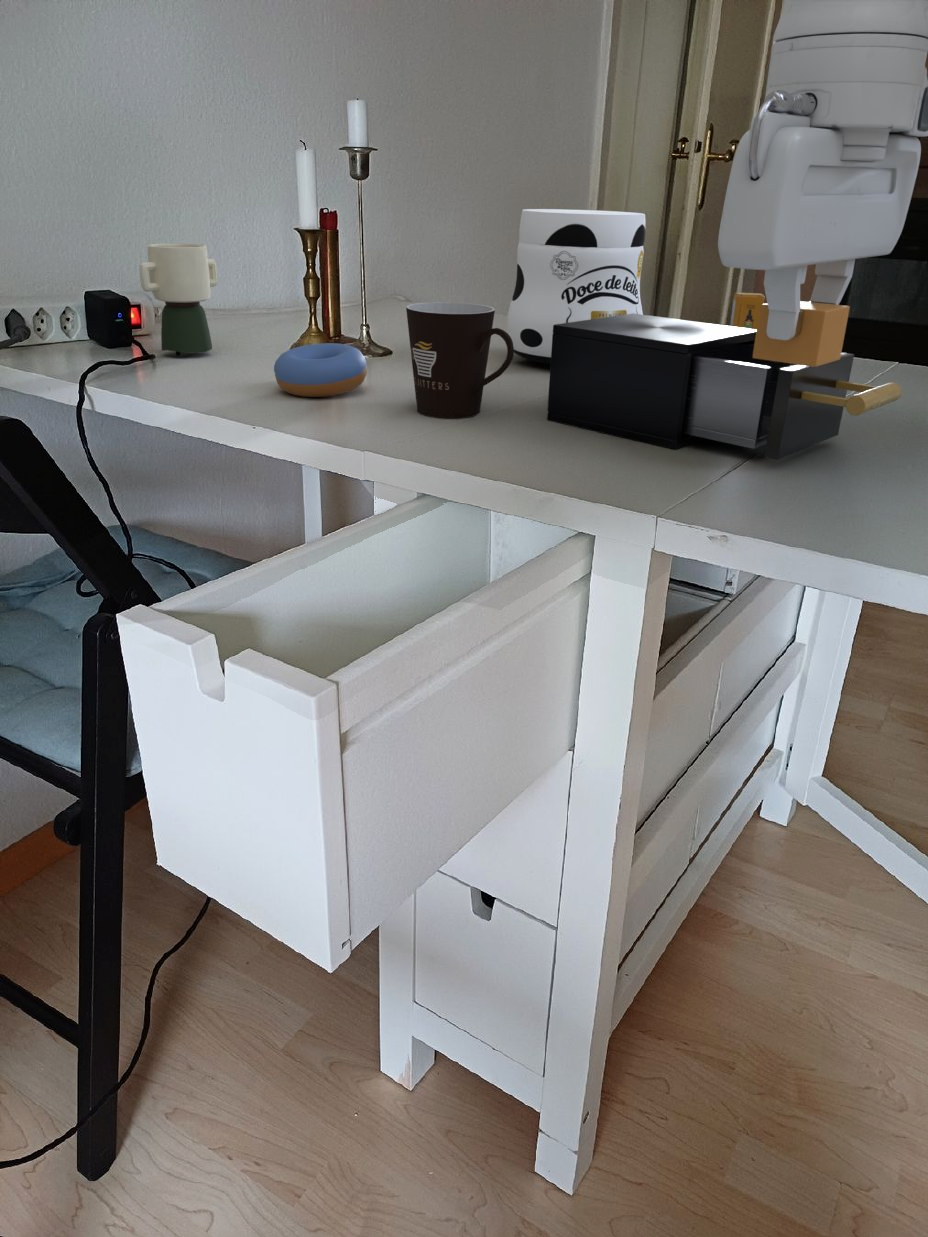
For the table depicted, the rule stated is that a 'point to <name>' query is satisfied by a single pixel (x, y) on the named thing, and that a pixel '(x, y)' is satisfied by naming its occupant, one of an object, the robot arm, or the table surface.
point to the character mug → (181, 293)
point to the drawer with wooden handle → (772, 400)
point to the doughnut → (320, 370)
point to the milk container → (573, 273)
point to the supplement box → (746, 310)
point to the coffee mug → (452, 356)
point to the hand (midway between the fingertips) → (800, 334)
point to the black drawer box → (630, 374)
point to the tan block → (805, 336)
